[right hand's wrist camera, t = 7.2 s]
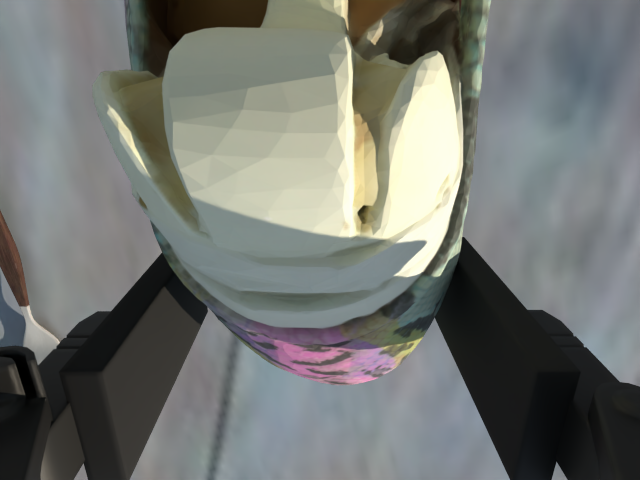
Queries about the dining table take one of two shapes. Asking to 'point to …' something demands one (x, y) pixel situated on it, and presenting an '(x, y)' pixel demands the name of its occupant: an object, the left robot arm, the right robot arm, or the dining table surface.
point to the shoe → (304, 165)
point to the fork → (23, 296)
